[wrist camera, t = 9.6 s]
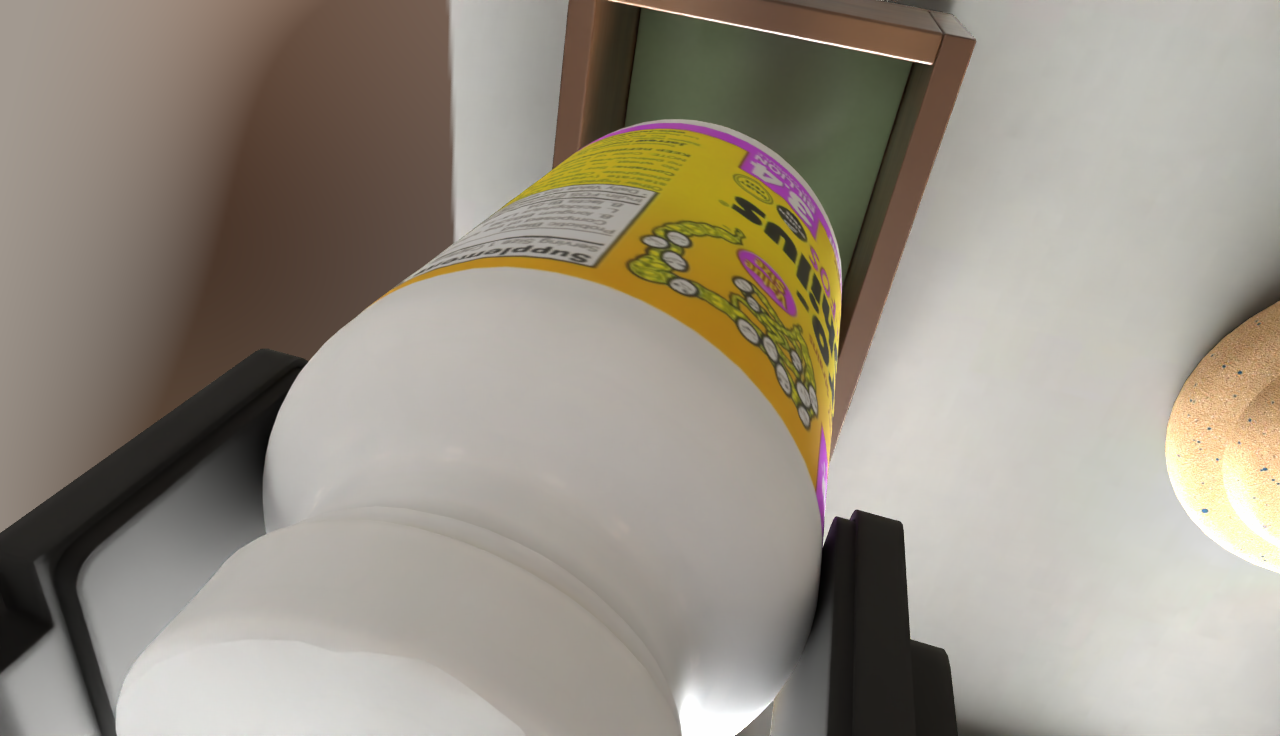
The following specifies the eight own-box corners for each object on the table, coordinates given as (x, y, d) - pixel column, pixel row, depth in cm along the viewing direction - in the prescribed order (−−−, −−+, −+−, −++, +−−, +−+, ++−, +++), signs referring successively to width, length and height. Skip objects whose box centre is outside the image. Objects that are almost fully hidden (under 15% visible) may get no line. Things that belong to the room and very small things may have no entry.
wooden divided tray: (564, 444, 37) (516, 530, 32) (629, -48, 26) (571, -40, 21) (792, 507, 36) (779, 607, 30) (954, 14, 25) (977, 39, 20)
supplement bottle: (862, 389, 18) (853, 1144, 7) (583, 413, 20) (231, 1016, 9) (820, 74, 15) (687, 487, 4) (501, 141, 17) (-165, 530, 6)
